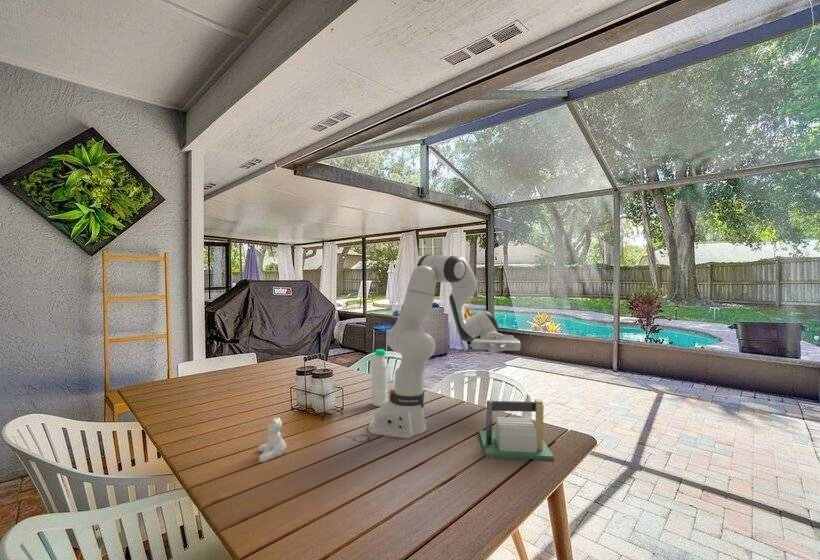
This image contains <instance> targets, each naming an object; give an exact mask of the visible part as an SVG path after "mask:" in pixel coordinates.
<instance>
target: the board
mask: <svg viewBox="0 0 820 560" xmlns="http://www.w3.org/2000/svg"><path fill="white" fill-rule="evenodd" d="M541 399H542V398H541ZM541 399H540V398H539V399H536V398H534V402H535V403H536V412H535V425H534V423H533V421H532V420H531V418H530V417H529V418H528V417H527V418H526V417H500V416H499V417H498V416H496V417H495V427H494V429H495V430H492V444H487V443H486V429H485V430H482V429H481V430H478V434H480V435H479V438H480V442H481V444H482V449H483V452H484V456H485V457H486V458H503V459H524V458H525V460H545V461H546V460H547V461H554V460H555V456H554V454H553V452H552V451H551V450H550V448H549V447H548V444H547V442H545V441H544V410H545V409H544V402H543V401H542V400H541Z"/></svg>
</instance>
